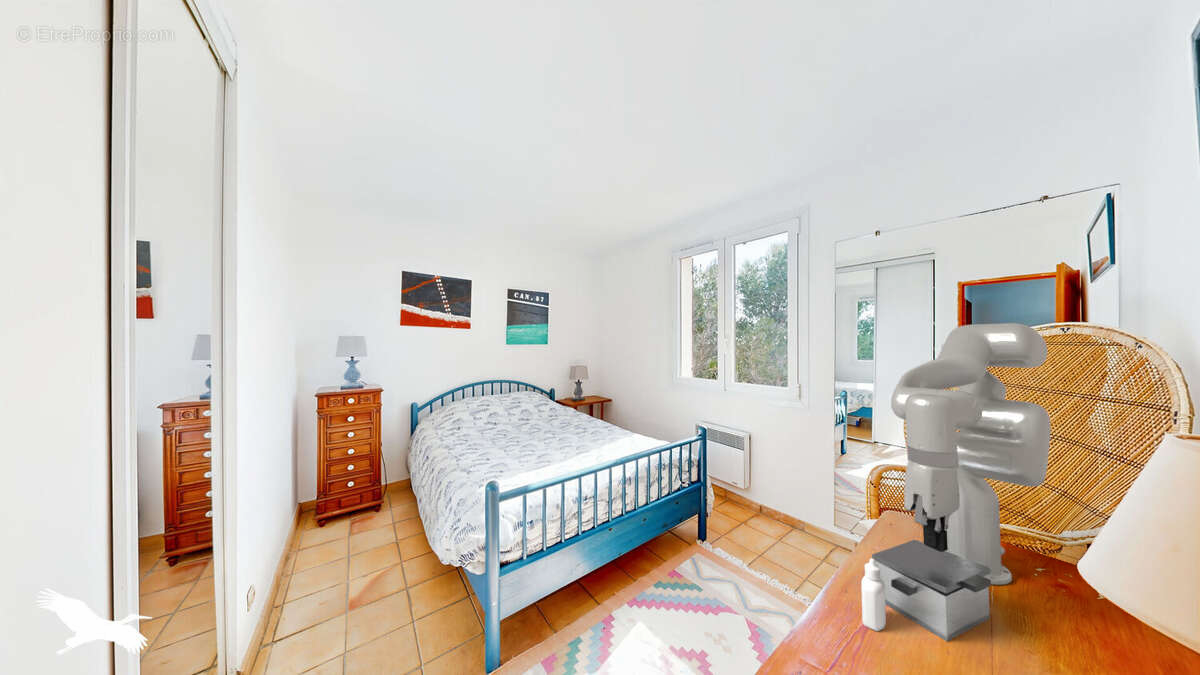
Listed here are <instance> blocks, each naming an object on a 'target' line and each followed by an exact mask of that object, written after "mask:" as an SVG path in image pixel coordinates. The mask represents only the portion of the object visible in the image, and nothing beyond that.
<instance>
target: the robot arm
mask: <svg viewBox="0 0 1200 675" xmlns="http://www.w3.org/2000/svg"><path fill="white" fill-rule="evenodd" d="M1047 357H1048V346H1047V342H1046V340H1045V339H1044V337H1043V336H1042V335H1041V334H1040V333H1039V332H1038V331H1037V330H1036V329H1034V328H1033V327H1031V326H1029V325H1026V324H1023V323H1017V322H1009V323H1008V322H1003V323H977V324H965V325H960V326H958V327H955V328H954V329H953V330H952V331H950V332H949V333H948V336H947V338H946V340H945V342H944V343H943V346H942V348H941V350H940V352H939V354H938V356H937V358H934V359H932V360H929V361H926V362H925V363H924V362H923V363H922V364H920V365H917V366H915V367H913V368H911V369H910V370H908V371H906V372H905V373H904V374H903V375H902V376H901V377H900V379H899V381H898V383H897V384H896V386H895V387H894V390H893V393H892V396H891V401H890V406H891V409H892V412H893V413H894V415H895V416H897V417H898V418H899V419H902V420H904V421H905V426H906V427H905V430H906V449H907V450H906V452H907V454H906V455H907V456H906V458H907V465H906V468H905V475H904V488H903V489H904V491H903V492H904V496H903V497H904V498H903V499H904V501H903V502H904V504H903V505H904V509H905V510H906V511H907V512H913V511H914V519H913V521H914V522H915V523H917V524H920V525H921V526H922V532H923V533H922V534H923V543H924V544H925V545H926V546H928V547H930V548H933V549H935V550H937V551H939V552H944V551H946V552H949V553H952V554H954V555H957V556H960V557H962V558H965V559H968V560H970V561H973V562H976V563H978V564H981V565H984V566H986V567H989V568H990V571H991V573H990V574H988V575H986V576H987V577H988V579H990V580H991V585H1000V586H1001V585H1008V584H1009V583H1011V582H1012V580H1013V578H1012V573H1011V571H1010V570H1009V569H1008V568H1007V567H1006V566H1004V565H1003V564H1002V555H1004V554H1005V553H1006V550H1005V548H1004V547H1003V546H1002V545H1001V525H1000V524H1001V523H1000V521H1001V520H1000V501H999V496H998V495H997V492H996V491H995V490H994V489H993V487H992V486H991V484H990V483H988V481H986V479H988V480H993V481H999V482H1004V483H1008V484H1013V485H1017V486H1022V487H1023V486H1024V487H1029V488H1030V487H1031V488H1032V487H1033V488H1034V487H1038V486H1041V485H1042V484H1043V483H1044V481H1045V479H1046V476H1047V473H1048V472H1047V471H1048V464H1049V453H1050V452H1049V451H1050V443H1051V442H1050V441H1051V432H1052V431H1051V430H1052V429H1051V428H1052V426H1051V425H1052V424H1051V419H1050V415H1049V413H1048V411H1047V410H1046V409H1045V408H1044V407H1043V406H1041V405H1040V404H1037V403H1035V402H1031V401H1022V400H1013V399H1012V400H1011V399H1006V395H1007V388H1006V384H1004V383H1003V382H1002V381H1001V380H1000V379H999V378H998V377H997V376H995V375H994V374H993V373H992V372H989V371H988V367H989V368H990V367H994V368H1020V369H1021V368H1023V369H1025V368H1027V369H1029V368H1030V369H1032V368H1038V367H1040V366H1042V365H1043V364H1044V363H1045V361H1046V359H1047ZM953 388H958V389H957V390H952V389H953Z"/></svg>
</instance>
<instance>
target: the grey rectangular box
mask: <svg viewBox="0 0 1200 675" xmlns="http://www.w3.org/2000/svg"><path fill="white" fill-rule="evenodd" d="M875 564H876V565H877V566H878V567H879V568H880V577H881V579H882V580H883V582H884V585H885V606H887V607H889V608H891V609H892V610H894V611H896V612H897V613H899V614H901V615H902V616H904V617H905V618H908V619H909V620H910V621H913V622H914V623H915V624H918V625H919V626H920V627H922V628H924V629H925V630H927V631H929V632H930V633H932V634H934V635H935V636H937V637H939V638H940V639H942V640H943V641H945V642H949V641H951V640H953V639H955V638H956V636H957V637H959V636H960V635H962V634H964V633H965V632H968V631H970V630H971V629H973V628H976V627H977V626H978V625H980V624H981V625H982V624H983V623H984V622H986V621H988V620H990V617H991V616H990V592H989V587H990V586H989V587H987V588H985V589H983V590H981V591H979V592H977V593H975V592H973V591H971V590H968V589H966V588H964V587H960V588H958V589H955V590H953V591H951V592H949V593H947V594H946V593H944V592H942V591H939V590H937V589H935V588H933V587H931V586H929V585H926V584H924V583H922V582H920V581H918V580H916V579H914V578H911V577H909V576H907V575H905V574H903V573H901V572H898V571H896V570H894V569H892V568H890V567H888V566H885V565H883V564H881V563H879V562H877V561H875ZM984 577H985V578H987V579H988V577H987V576H984ZM954 637H955V638H954ZM952 638H953V639H952Z"/></svg>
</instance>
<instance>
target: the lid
mask: <svg viewBox="0 0 1200 675" xmlns="http://www.w3.org/2000/svg"><path fill="white" fill-rule="evenodd" d="M871 558H872V559H874V560H875V561H877V562H879V563H881V564H883V565H885V566H888V567H890V568H892V569H894V570H896V571H898V572H901V573H903V574H905V575H907V576H909V577H911V578H914V579H916V580H918V581H920V582H922V583H924V584H926V585H929V586H931V587H933V588H935V589H937V590H939V591H942V592H944V593H946V594H947V593H949V592H951V591H953V590H955V589H958V588H960V587H964V588H966V589H968V590H971V591H973V592H975V593H977V592H979V591H981V590H983V589H985V588H987V587H991V586H992V584H991V580H990V579H987V578H985V577H984V576H986V575H988V574H990V573H991V571H990V568H989V567H986V566H984V565H981V564H978V563H976V562H973V561H970V560H968V559H965V558H962V557H960V556H957V555H954V554H952V553H949V552H946V551H944V552H939V551H937V550H935V549H933V548H930V547H928V546H926V545H925V544H924V541H920V540H916V539H912V540H910V541H908V542H907V541H906V542H904V543H901V544H898V545H895V546H892V547H890V548H887V549H884V550H881V551H878V552H875V553H872V554H871Z"/></svg>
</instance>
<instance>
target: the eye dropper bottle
mask: <svg viewBox="0 0 1200 675" xmlns="http://www.w3.org/2000/svg"><path fill="white" fill-rule="evenodd" d="M868 561H869V562H866V563H865V564H864V576H863V577H862V579H861V583H860V584H861V616H862V617H861V618H862V624H863V626H865V627H867V628H869V629H871V630H873V631H876V632H879V631H881V630H883V629H884V628H885V627H886V623H887V620H886V619H887V616H886V615H887V614H886V604H885V585H884V582H883V580H882V579H881V577H880V568H879V567H878V566H877V565H876V564H875V560H874V559H872V557H871V558H869V560H868Z"/></svg>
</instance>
